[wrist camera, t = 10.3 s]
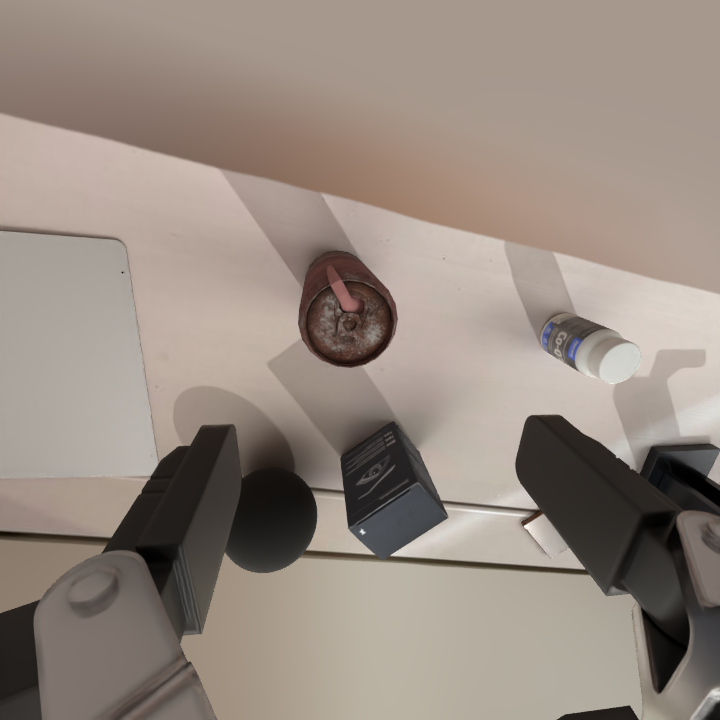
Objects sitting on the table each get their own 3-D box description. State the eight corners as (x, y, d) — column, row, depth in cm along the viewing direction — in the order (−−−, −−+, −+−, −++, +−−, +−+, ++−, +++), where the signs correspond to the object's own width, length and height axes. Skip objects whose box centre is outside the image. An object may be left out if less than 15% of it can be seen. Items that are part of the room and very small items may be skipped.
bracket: (651, 446, 46) (778, 534, 33) (711, 443, 47) (856, 528, 34) (624, 510, 50) (728, 610, 38) (680, 506, 51) (800, 602, 39)
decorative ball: (298, 524, 44) (293, 605, 35) (219, 504, 42) (191, 585, 33) (330, 464, 41) (334, 534, 32) (247, 438, 39) (225, 506, 30)
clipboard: (-208, 213, 27) (-229, 213, 26) (127, 240, 31) (121, 241, 30) (-84, 476, 36) (-96, 484, 35) (162, 471, 40) (158, 478, 39)
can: (349, 235, 32) (370, 248, 19) (379, 296, 34) (416, 344, 22) (291, 267, 33) (274, 302, 20) (325, 325, 35) (329, 389, 22)
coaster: (577, 486, 47) (580, 490, 47) (602, 522, 51) (605, 525, 50) (520, 522, 49) (523, 526, 48) (548, 555, 52) (550, 558, 51)
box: (366, 484, 43) (380, 564, 33) (338, 456, 41) (345, 532, 31) (420, 449, 42) (451, 521, 32) (394, 418, 40) (419, 484, 30)
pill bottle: (535, 322, 37) (592, 349, 30) (578, 305, 37) (646, 329, 30) (542, 360, 39) (596, 395, 32) (582, 344, 39) (647, 376, 31)
